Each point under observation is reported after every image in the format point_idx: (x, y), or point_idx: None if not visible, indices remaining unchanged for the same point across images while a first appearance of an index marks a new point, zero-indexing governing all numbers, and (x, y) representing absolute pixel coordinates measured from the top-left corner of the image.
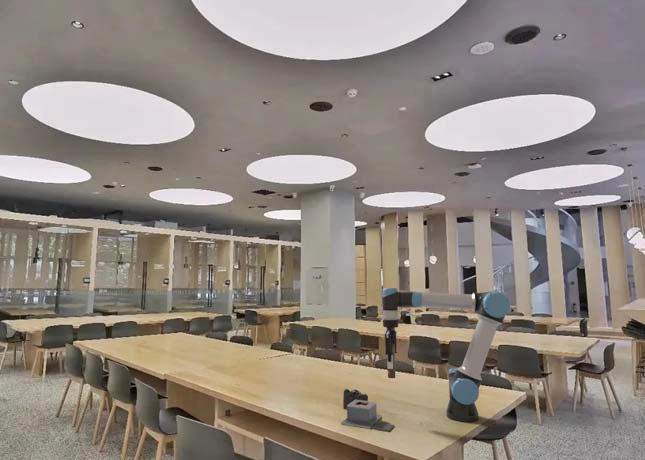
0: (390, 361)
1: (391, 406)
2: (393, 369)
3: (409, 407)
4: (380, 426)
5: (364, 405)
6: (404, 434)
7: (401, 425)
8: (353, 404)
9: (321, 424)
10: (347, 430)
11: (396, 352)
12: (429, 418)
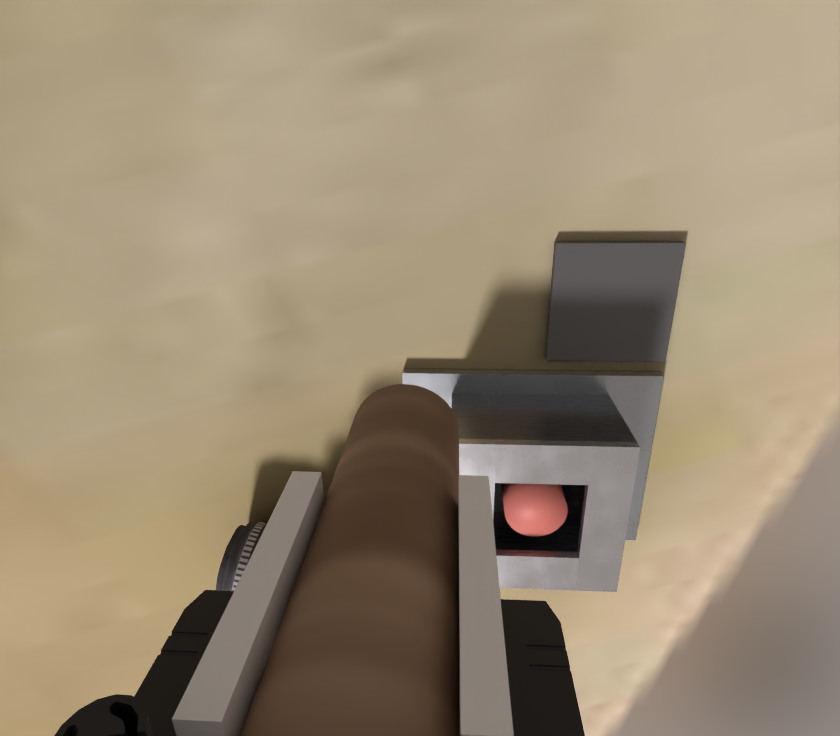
0: (552, 615)
1: (130, 374)
2: (437, 465)
3: (66, 250)
4: (624, 319)
5: (519, 499)
6: (706, 123)
7: (514, 197)
8: (582, 562)
9: (670, 612)
10: (730, 475)
11: (125, 727)
12: (241, 21)
